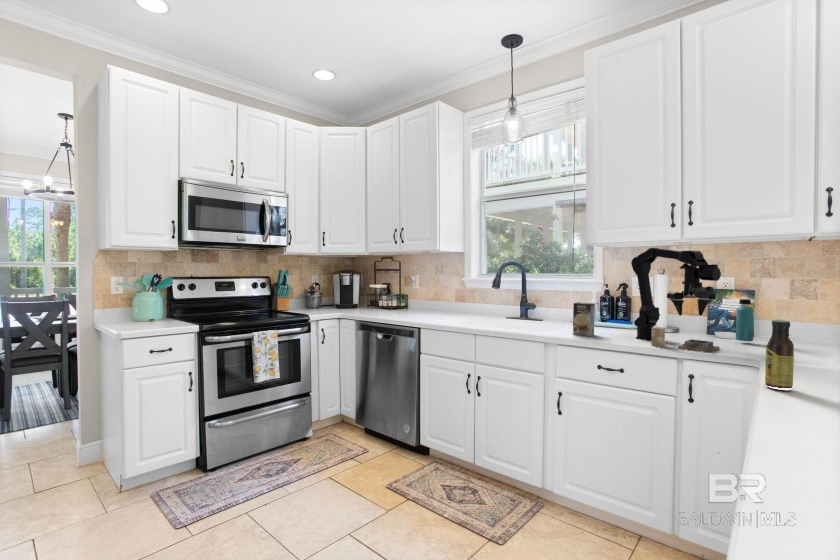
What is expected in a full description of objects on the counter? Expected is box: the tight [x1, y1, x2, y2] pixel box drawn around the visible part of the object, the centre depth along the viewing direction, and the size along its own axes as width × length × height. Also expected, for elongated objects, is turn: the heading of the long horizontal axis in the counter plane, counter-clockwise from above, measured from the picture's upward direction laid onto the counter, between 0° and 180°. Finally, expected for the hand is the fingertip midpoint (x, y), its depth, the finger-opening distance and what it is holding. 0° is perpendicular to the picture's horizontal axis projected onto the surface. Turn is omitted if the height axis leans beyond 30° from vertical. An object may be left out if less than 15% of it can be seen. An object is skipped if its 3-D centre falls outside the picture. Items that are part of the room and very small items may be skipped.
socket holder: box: [677, 338, 720, 353], centre depth 185 cm, size 12×12×3 cm
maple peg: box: [650, 326, 666, 348], centre depth 191 cm, size 4×4×8 cm
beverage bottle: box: [735, 298, 755, 342], centre depth 197 cm, size 6×7×20 cm
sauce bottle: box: [764, 319, 795, 389], centre depth 125 cm, size 7×6×20 cm
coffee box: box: [572, 301, 596, 337], centre depth 222 cm, size 9×6×16 cm
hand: (690, 315), depth 190 cm, fingers open, 9 cm apart
